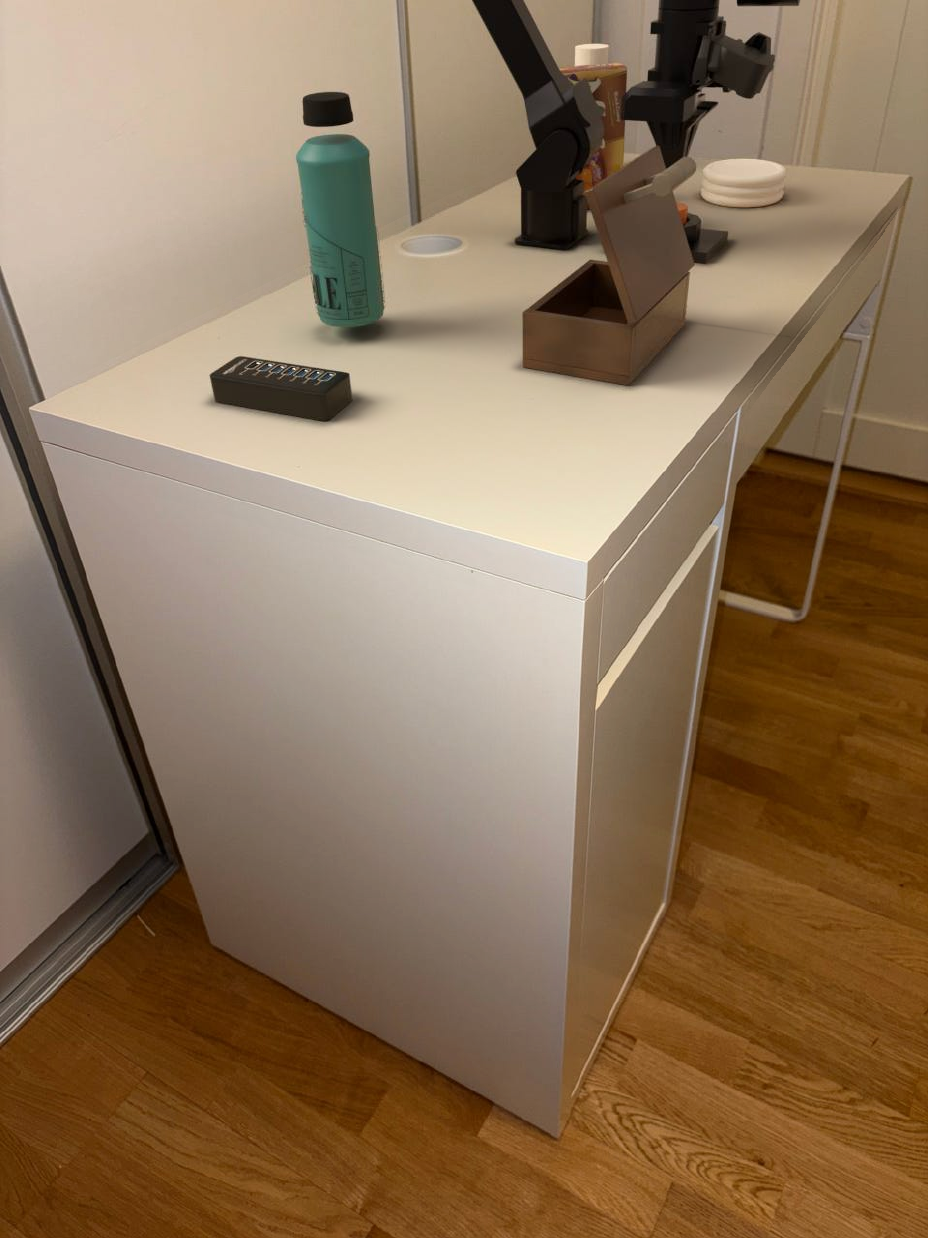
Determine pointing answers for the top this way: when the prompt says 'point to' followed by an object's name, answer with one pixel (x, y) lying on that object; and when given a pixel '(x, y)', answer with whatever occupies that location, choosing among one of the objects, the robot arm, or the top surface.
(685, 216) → the power button
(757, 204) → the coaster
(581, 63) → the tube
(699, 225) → the control block
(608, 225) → the chest lid
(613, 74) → the candy box
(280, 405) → the multiport hub
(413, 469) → the top surface
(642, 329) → the chest
